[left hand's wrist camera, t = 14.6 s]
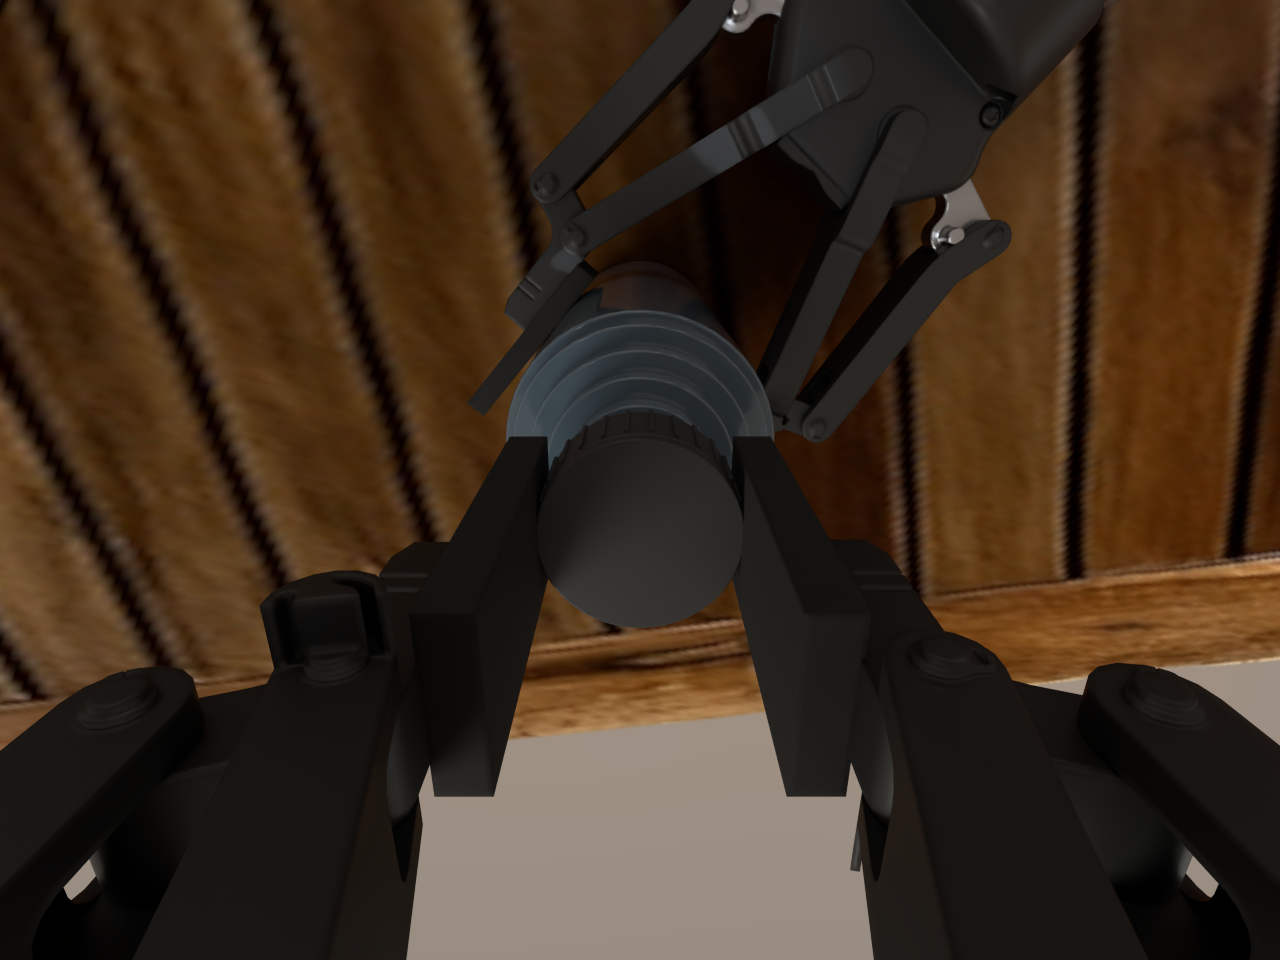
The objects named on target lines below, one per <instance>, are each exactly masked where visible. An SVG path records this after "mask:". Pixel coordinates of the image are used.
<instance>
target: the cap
mask: <svg viewBox="0 0 1280 960" xmlns="http://www.w3.org/2000/svg"><path fill="white" fill-rule="evenodd" d="M740 503H741V497H740V494H739V491H738V488H737V485H736V482H735V479H734V476H733V475H732V473H731V470H730V467H729V464H728V461H727V459H726V457H725V455H723V456H721V454H720V453H719V451H718V450H717V448H716V447H715V443H714V440H713V439H712V438H710V439H708V438H707V437H706V436H704V435H703V434H702V433H701V432H700V431H699V430H697V426H696V425H694V424H693V425H692V426H691V425H689V424H687V423H685V422H683V421H681V420H679V419H677V418H676V415H673V414H672V416H668V415H664V414H659V413H654V410H649V412H630V410H626V413H622V414H617V415H613V416H610V417H608V416H607V415H605V416H603V419H601V420H599V421H597V422H595V423H593V424H591V425H590V426H587V425H585V426H583V428H582V431H581V432H579V433H578V434H577V435H576V436H575V437H574V438H573V439H571V440H570V439H568V440H567V441H566V443H565V446H564V449H563V450H562V452H561V453H560V455H559V456H558V457H557V456H555V457H554V459H553V462H552V465H551V468H550V471H549V474H548V476H547V479H546V482H545V485H544V488H543V491H542V494H541V496H540V499H539V505H540V507H539V511H538V514H537V535H538V551H539V559H540V562H541V565H542V567H543V569H544V571H545V573H546V575H547V577H548V578H549V580H550V582H551V583H552V585H553V586H554V587H555V588H556V590H557V591H558V592H559V593H560V594H561V595H562V596H563V597H564V598H565V599H566V600H567V601H568V602H569V603H570V604H572V605H573V606H574V607H576V608H577V609H579V610H580V611H582V612H584V613H585V614H587V615H589V616H591V617H593V618H596V619H598V620H600V621H603V622H606V623H610V624H613V625H618V626H624V627H636V628H645V627H656V626H662V625H667V624H671V623H674V622H677V621H680V620H683V619H685V618H687V617H690V616H692V615H693V614H695V613H697V612H699V611H700V610H702V609H703V608H705V607H706V606H707V605H709V604H710V603H711V602H713V601H714V600H715V599H716V598H717V597H718V596H719V595H720V594H721V593H722V591H723V590H724V589H725V588H726V587H727V585H728V584H729V582H730V581H731V579H732V578H733V576H734V574H735V572H736V570H737V568H738V566H739V563H740V561H741V556H742V542H743V525H744V517H743V512H742V509H741V506H740Z"/></svg>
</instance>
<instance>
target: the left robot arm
mask: <svg viewBox="0 0 1280 960" xmlns="http://www.w3.org/2000/svg"><path fill="white" fill-rule="evenodd" d="M1 2H2V0H0V4H1ZM731 473H732V475H733V476H734V479H735V482H736V485H737V488H738V491H739V494H740V497H741V503H740V506H741V509H742V512H743V517H744V525H743V542H742V556H741V561H740V563H739V566H738V568H737V570H736V572H735V574H734V576H733V578H732V579H733V583H734V587H735V591H736V595H737V599H738V603H739V607H740V611H741V615H742V619H743V623H744V627H745V631H746V635H747V639H748V643H749V647H750V651H751V655H752V659H753V663H754V667H755V671H756V675H757V679H758V683H759V687H760V691H761V695H762V699H763V703H764V707H765V711H766V715H767V719H768V723H769V727H770V731H771V735H772V739H773V743H774V747H775V751H776V755H777V759H778V763H779V767H780V771H781V775H782V779H783V783H784V787H785V791H786V795H787V797H845V796H846V792H847V786H848V779H849V771H850V765H851V763H852V766H853V769H854V771H855V774H856V776H857V779H858V782H859V784H860V787H861V790H862V795H861V802H860V809H859V815H858V821H857V828H856V834H855V841H854V847H853V854H852V861H851V868H850V870H853V871H860V866H861V861H862V866H863V875H864V883H865V891H866V899H867V907H868V915H869V924H870V932H871V940H872V948H873V956H874V960H1280V745H1278V744H1277V743H1276V742H1275V741H1273V740H1272V739H1271V738H1270V737H1268V736H1267V735H1266V734H1265V733H1263V732H1262V731H1261V730H1259V729H1258V728H1257V727H1256V726H1254V725H1253V724H1252V723H1251V722H1249V721H1248V720H1247V719H1246V718H1244V717H1243V716H1242V715H1241V714H1239V713H1238V712H1237V711H1235V710H1234V709H1233V708H1232V707H1230V706H1229V705H1228V704H1227V703H1225V702H1224V701H1223V700H1222V699H1220V698H1218V697H1217V696H1215V695H1214V694H1212V693H1211V692H1209V691H1208V690H1206V689H1204V688H1203V687H1201V686H1200V685H1198V684H1196V683H1194V682H1191V681H1189V680H1187V679H1184V678H1182V677H1180V676H1178V675H1176V674H1175V673H1173V672H1170V671H1167V670H1163V669H1160V668H1158V669H1155V667H1152V666H1146V665H1136V664H1124V663H1114V664H1109V665H1103V666H1098V667H1097V668H1096V669H1095V670H1094V671H1093V672H1091V673H1090V674H1089V675H1088V679H1087V682H1086V686H1085V689H1084V693H1083V695H1079V694H1074V693H1069V692H1064V691H1059V690H1053V689H1048V688H1043V687H1038V686H1033V685H1029V684H1025V683H1021V682H1017V681H1013V680H1012V679H1011V677H1010V675H1009V673H1008V671H1007V669H1006V667H1005V666H1004V665H1003V664H1002V662H1001V661H1000V660H999V659H998V657H997V656H996V655H995V654H994V653H993V652H991V651H990V650H988V649H987V648H985V647H984V646H982V645H981V644H979V643H978V642H975V641H973V640H970V639H968V638H965V637H963V636H960V635H958V634H955V633H951V632H946V631H944V630H943V629H942V627H941V626H940V624H939V623H938V622H937V620H936V619H935V617H934V616H933V615H932V613H931V612H930V611H929V609H928V608H927V606H926V605H925V604H924V602H923V601H922V599H921V598H920V597H919V595H918V594H917V593H916V591H915V590H912V586H911V584H910V583H909V581H908V580H907V579H906V577H905V576H904V575H902V574H901V570H900V569H899V568H898V566H897V565H896V563H895V562H894V561H893V559H892V558H891V557H890V555H889V554H887V553H886V552H884V551H883V550H881V549H880V548H878V547H876V546H875V545H873V544H872V543H870V542H868V541H867V540H830V539H829V537H828V536H827V534H826V532H825V530H824V529H823V527H822V525H821V523H820V522H819V520H818V518H817V517H816V515H815V513H814V511H813V510H812V508H811V506H810V504H809V503H808V501H807V499H806V497H805V496H804V494H803V492H802V490H801V489H800V487H799V485H798V483H797V482H796V480H795V478H794V476H793V475H792V473H791V471H790V470H789V468H788V466H787V464H786V463H785V461H784V459H783V457H782V456H781V454H780V452H779V450H778V449H777V447H776V445H775V443H774V442H773V440H772V438H771V436H733V447H732V466H731ZM548 474H549V458H548V439H547V436H510V437H509V439H508V441H507V442H506V444H505V446H504V448H503V449H502V451H501V453H500V455H499V456H498V458H497V460H496V462H495V463H494V465H493V467H492V469H491V470H490V472H489V474H488V476H487V477H486V479H485V481H484V483H483V484H482V486H481V488H480V489H479V491H478V493H477V495H476V496H475V498H474V500H473V502H472V503H471V505H470V507H469V509H468V510H467V512H466V514H465V516H464V517H463V519H462V521H461V523H460V524H459V526H458V528H457V530H456V531H455V533H454V535H453V537H452V538H451V540H450V542H414V543H413V544H411V545H410V546H408V547H406V548H405V549H403V550H402V551H400V552H399V553H397V554H395V555H394V556H392V557H391V559H390V560H389V561H388V563H387V564H386V566H385V567H384V568H383V570H382V571H381V573H380V574H379V577H378V576H376V575H374V574H370V573H366V572H362V571H332V572H326V573H320V574H314V575H311V576H308V577H305V578H302V579H299V580H296V581H293V582H290V583H288V584H287V585H285V586H283V587H281V588H280V589H278V590H276V591H274V592H272V593H271V594H270V595H269V596H268V597H267V598H266V599H265V600H264V601H263V602H262V603H261V604H260V610H261V614H262V618H263V622H264V627H265V631H266V635H267V640H268V644H269V648H270V652H271V657H272V661H273V665H274V670H273V672H272V674H271V676H270V678H269V680H268V682H267V684H264V685H260V686H256V687H252V688H248V689H243V690H238V691H233V692H228V693H223V694H218V695H213V696H208V697H202V698H199V697H198V694H197V690H196V687H195V684H194V680H193V678H192V677H191V676H190V675H189V674H188V673H186V672H185V671H184V670H183V669H177V668H172V667H167V666H159V667H147V668H137V669H131V670H127V672H123V671H122V672H119V673H116V674H113V675H110V676H107V677H106V678H104V679H103V680H100V681H98V682H96V683H93V684H91V685H89V686H86V687H84V688H83V689H81V690H79V691H78V692H76V693H75V694H73V695H72V696H70V697H69V698H67V699H65V700H64V701H62V702H61V703H59V704H58V705H57V706H56V707H54V708H53V709H52V710H51V711H49V712H48V713H47V714H46V715H44V716H43V717H42V718H41V719H39V720H38V721H37V722H36V723H34V724H33V725H32V726H31V727H29V728H28V729H27V730H26V731H24V732H23V733H22V734H21V735H19V736H18V737H17V738H16V739H14V740H13V741H12V742H11V743H9V744H8V745H7V746H6V747H4V748H3V749H2V750H1V751H0V960H406V958H407V950H408V942H409V933H410V925H411V917H412V909H413V901H414V892H415V884H416V876H417V868H418V860H419V852H420V843H421V835H422V827H423V823H422V816H421V808H420V802H419V792H420V789H421V787H422V784H423V781H424V779H425V776H426V773H427V771H428V768H429V765H430V768H431V775H432V782H433V789H434V796H435V797H493V796H494V793H495V789H496V785H497V781H498V777H499V773H500V769H501V765H502V761H503V757H504V753H505V749H506V745H507V741H508V737H509V733H510V729H511V725H512V721H513V717H514V713H515V709H516V705H517V701H518V697H519V693H520V689H521V685H522V681H523V677H524V673H525V669H526V665H527V661H528V657H529V653H530V649H531V645H532V641H533V637H534V633H535V629H536V625H537V621H538V617H539V613H540V609H541V605H542V601H543V597H544V593H545V589H546V585H547V581H548V577H547V575H546V573H545V571H544V569H543V567H542V565H541V562H540V559H539V551H538V535H537V514H538V511H539V507H540V505H539V499H540V496H541V494H542V491H543V488H544V485H545V482H546V479H547V476H548ZM1192 856H1194V857H1195V858H1196V859H1197V860H1198V861H1199V863H1200V864H1201V865H1202V866H1203V867H1204V868H1205V869H1206V870H1207V871H1208V872H1209V874H1210V875H1211V876H1212V877H1213V878H1214V879H1215V880H1216V881H1217V882H1218V883H1219V885H1218V887H1217V889H1216V891H1215V894H1214V895H1213V896H1212V897H1209V896H1207V895H1206V894H1205V893H1204V892H1203V891H1202V890H1201V889H1199V888H1198V887H1197V886H1196V885H1195V883H1194V882H1193V881H1192V880H1191V879H1190V878H1189V877H1188V875H1187V874H1186V871H1187V868H1188V866H1189V864H1190V861H1191V859H1192ZM89 859H90V862H91V864H92V867H93V869H94V872H95V874H96V877H95V878H94V879H93V880H92V881H91V883H90V884H89V885H88V886H87V887H86V888H85V889H84V890H83V891H82V892H81V893H79V894H78V895H77V896H76V897H75V898H73V899H72V900H70V899H69V898H68V897H67V894H66V892H65V890H64V888H63V887H64V886H65V885H66V884H67V883H68V882H69V881H70V880H71V878H72V877H73V876H74V875H75V874H76V873H77V872H78V871H79V870H80V869H81V867H82V866H83V865H84V864H85V863H86V862H87V861H88V860H89Z"/></svg>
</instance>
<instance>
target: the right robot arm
mask: <svg viewBox="0 0 1280 960" xmlns="http://www.w3.org/2000/svg"><path fill="white" fill-rule="evenodd" d="M1116 1H1117V0H691V2H690V3H689V4H688V5H687V6H686V8H685V9H684V10H683V11H682V12H681V13H680V14H679V15H678V16H677V17H676V18H675V19H674V20H673V22H672V23H671V24H670V25H669V26H668V27H667V28H666V29H665V30H664V31H663V32H662V33H661V35H660V36H659V37H658V38H657V39H656V40H655V41H654V42H653V43H652V44H651V45H650V46H649V47H648V49H647V50H646V51H645V52H644V53H643V54H642V55H641V56H640V57H639V58H638V59H637V60H636V61H635V63H634V64H633V65H632V66H631V67H630V68H629V69H628V70H627V71H626V72H625V73H624V74H623V75H622V77H621V78H620V79H619V80H618V81H617V82H616V83H615V84H614V85H613V86H612V87H611V88H610V89H609V91H608V92H607V93H606V94H605V95H604V96H603V97H602V98H601V99H600V100H599V101H598V102H597V103H596V105H595V106H594V107H593V108H592V109H591V110H590V111H589V112H588V113H587V114H586V115H585V116H584V118H583V119H582V120H581V121H580V122H579V123H578V124H577V125H576V126H575V127H574V128H573V129H572V130H571V132H570V133H569V134H568V135H567V136H566V137H565V138H564V139H563V140H562V141H561V142H560V143H559V144H558V146H557V147H556V148H555V149H554V150H553V151H552V152H551V153H550V154H549V155H548V156H547V157H546V158H545V160H544V161H543V162H542V163H541V164H540V165H539V166H538V167H537V168H536V169H535V170H534V172H533V174H532V175H531V179H530V188H531V192H532V193H533V195H534V197H535V198H536V199H537V200H538V201H539V203H540V205H541V206H542V208H543V210H544V212H545V214H546V215H547V217H548V219H549V221H550V223H551V226H552V239H551V243H550V244H549V246H548V248H547V249H546V250H545V252H544V253H543V254H542V255H541V257H540V258H539V259H538V261H537V262H536V263H535V265H534V266H533V267H532V268H531V270H530V271H529V272H528V274H527V275H526V276H525V278H524V279H523V280H522V281H521V283H520V284H519V285H518V287H517V288H516V289H515V290H514V292H513V293H512V294H511V296H510V297H509V298H508V301H507V304H506V308H505V312H504V314H505V315H507V316H508V317H509V318H510V319H511V320H513V321H514V322H515V323H516V324H518V325H519V326H520V327H521V328H522V329H524V330H525V331H524V332H523V334H522V335H521V336H520V337H519V339H518V340H517V341H516V342H515V344H514V345H513V346H512V347H511V349H510V350H509V351H508V352H507V354H506V355H505V356H504V357H503V359H502V360H501V361H500V363H499V364H498V365H497V366H496V368H495V369H494V370H493V371H492V373H491V374H490V375H489V376H488V378H487V379H486V380H485V381H484V383H483V384H482V385H481V386H480V388H479V389H478V390H477V392H476V393H475V394H474V395H473V397H472V398H471V399H470V400H469V402H468V404H469V405H470V406H472V407H473V408H474V409H476V410H477V411H478V412H479V413H481V414H482V415H483V416H484V415H485V414H486V412H487V411H488V410H489V409H490V407H491V406H492V405H493V404H494V402H495V401H496V400H497V399H498V398H499V396H500V395H501V394H502V393H503V391H504V390H505V389H506V388H507V386H508V385H509V384H510V383H511V381H512V380H513V379H514V378H515V376H516V375H517V374H518V373H519V372H520V370H521V369H522V368H523V367H524V365H525V364H526V363H527V362H528V360H529V359H530V358H531V357H532V355H533V354H534V353H535V352H536V350H537V349H538V348H539V347H540V346H541V344H542V343H543V342H544V341H545V339H546V338H547V337H548V336H549V334H550V333H551V332H552V331H553V329H554V328H555V327H556V326H557V324H558V323H559V322H560V321H561V320H562V318H563V317H564V316H565V314H566V313H567V312H568V311H569V310H570V308H571V307H572V306H573V305H574V303H575V302H576V301H577V300H578V298H579V297H580V296H581V295H582V294H583V292H584V291H585V290H586V289H587V287H588V286H589V285H590V284H591V282H592V281H593V280H594V279H595V277H596V276H597V274H598V272H597V271H596V270H595V269H594V268H593V267H592V266H590V265H589V264H588V263H587V262H586V261H585V260H584V259H585V258H586V257H587V255H588V254H589V253H590V252H591V251H592V250H593V249H595V248H597V247H598V246H600V245H602V244H603V243H605V242H607V241H608V240H610V239H612V238H613V237H615V236H617V235H618V234H620V233H622V232H623V231H625V230H627V229H628V228H630V227H632V226H633V225H635V224H637V223H638V222H640V221H642V220H643V219H645V218H647V217H648V216H650V215H652V214H653V213H655V212H657V211H658V210H660V209H662V208H663V207H665V206H667V205H668V204H670V203H672V202H673V201H675V200H677V199H678V198H680V197H682V196H684V195H685V194H687V193H689V192H690V191H692V190H694V189H695V188H697V187H699V186H700V185H702V184H704V183H705V182H707V181H709V180H710V179H712V178H714V177H715V176H717V175H719V174H720V173H722V172H724V171H725V170H727V169H729V168H730V167H732V166H734V165H735V164H737V163H739V162H740V161H742V160H744V159H745V158H747V157H749V156H750V155H752V154H754V153H756V152H757V151H759V150H761V149H762V148H764V147H766V146H767V145H769V146H768V148H767V150H768V151H769V152H770V153H771V154H772V155H773V156H774V157H775V158H776V159H777V160H778V161H779V162H780V163H781V164H782V165H784V166H786V167H787V168H789V169H791V170H793V171H795V172H797V173H798V174H800V175H801V176H802V178H803V180H804V181H805V183H806V185H807V187H808V189H809V191H810V192H811V194H812V196H813V197H814V198H815V199H816V200H817V201H818V202H819V203H820V204H821V205H822V206H823V207H824V208H825V211H824V213H823V215H822V218H821V220H820V222H819V224H818V227H817V230H816V234H815V240H814V243H813V245H812V248H811V250H810V252H809V254H808V257H807V259H806V261H805V263H804V266H803V268H802V270H801V272H800V275H799V277H798V279H797V281H796V283H795V286H794V288H793V290H792V292H791V295H790V297H789V299H788V301H787V304H786V306H785V308H784V310H783V313H782V315H781V317H780V319H779V322H778V324H777V326H776V328H775V331H774V333H773V335H772V337H771V340H770V342H769V344H768V346H767V348H766V351H765V353H764V355H763V357H762V360H761V362H760V364H759V366H758V369H757V371H756V374H757V376H758V377H759V379H760V381H761V383H762V385H763V387H764V390H765V392H766V395H767V397H768V400H769V404H770V408H771V412H772V416H773V425H774V432H777V431H781V430H783V429H786V430H789V431H792V432H794V433H797V434H800V435H802V436H805V437H806V439H807V440H809V441H811V442H822V441H825V440H826V439H827V438H829V437H830V436H831V435H832V433H833V432H834V431H835V430H836V428H837V427H838V426H839V425H840V424H841V422H842V421H843V420H844V419H845V418H846V416H847V415H848V414H849V413H850V412H851V410H852V409H853V408H854V407H855V405H856V404H857V403H858V402H859V401H860V399H861V398H862V397H863V396H864V395H865V393H866V392H867V391H868V390H869V389H870V387H871V386H872V385H873V384H874V383H875V381H876V380H877V379H878V378H879V376H880V375H881V374H882V373H883V372H884V370H885V369H886V368H887V367H888V366H889V364H890V363H891V362H892V361H893V360H894V358H895V357H896V356H897V355H898V353H899V352H900V351H901V350H902V349H903V347H904V346H905V345H906V344H907V343H908V341H909V340H910V339H911V338H912V337H913V335H914V334H915V333H916V332H917V331H918V329H919V328H920V327H921V326H922V324H923V323H924V322H925V321H926V320H927V318H928V317H929V316H930V315H931V314H932V312H933V311H934V310H935V309H936V308H937V306H938V305H939V304H940V303H941V301H942V300H943V299H944V298H945V297H946V295H947V294H948V293H949V292H950V291H951V289H952V288H953V287H954V286H955V285H956V283H957V282H959V281H960V280H962V279H963V278H965V277H966V276H968V275H969V274H971V273H972V272H974V271H975V270H977V269H978V268H980V267H981V266H983V265H984V264H986V263H987V262H989V261H991V260H992V259H994V258H995V257H997V256H998V255H1000V254H1001V253H1002V252H1003V251H1004V250H1006V249H1007V247H1008V245H1009V243H1010V242H1011V236H1012V233H1011V229H1010V227H1009V226H1008V224H1007V223H1006V222H1004V221H1001V220H991V219H990V217H989V215H988V213H987V211H986V209H985V207H984V205H983V203H982V201H981V199H980V197H979V195H978V193H977V191H976V189H975V187H974V185H973V183H972V181H971V179H970V178H971V177H972V175H973V174H974V172H975V170H976V168H977V166H978V163H979V160H980V157H981V154H982V152H983V149H984V147H985V145H986V143H987V142H988V140H989V138H990V137H991V135H992V134H993V133H994V132H995V130H996V129H997V128H998V127H999V126H1000V125H1001V124H1002V123H1003V122H1004V121H1005V120H1006V119H1007V118H1008V117H1009V116H1010V115H1011V114H1012V113H1013V112H1014V111H1015V110H1016V109H1017V108H1018V107H1019V106H1020V104H1021V103H1022V102H1023V101H1024V100H1025V99H1026V98H1027V97H1028V96H1029V95H1030V94H1031V93H1032V92H1033V91H1034V90H1035V89H1036V87H1037V86H1038V85H1039V84H1040V83H1041V82H1042V81H1043V80H1044V79H1045V78H1046V77H1047V76H1048V75H1049V74H1050V73H1051V72H1052V70H1053V69H1054V68H1055V67H1056V66H1057V65H1058V64H1059V63H1060V62H1061V61H1062V60H1063V59H1064V58H1065V57H1066V56H1067V54H1068V53H1069V52H1070V51H1071V50H1072V49H1073V48H1074V47H1075V46H1076V45H1077V44H1078V43H1079V42H1080V41H1081V40H1082V39H1083V37H1084V36H1085V35H1086V34H1087V33H1088V32H1089V31H1090V30H1091V29H1092V28H1093V27H1094V25H1095V24H1096V22H1097V21H1098V19H1099V17H1100V15H1101V12H1102V10H1103V7H1106V6H1108V5H1110V4H1113V3H1115V2H1116ZM760 21H770V22H772V23H774V24H775V26H774V33H773V41H772V48H771V56H770V63H769V71H768V78H767V86H766V94H765V100H764V101H763V102H761V103H759V104H758V105H756V106H755V107H753V108H751V109H750V110H748V111H746V112H745V113H743V114H742V115H740V116H739V117H737V118H736V119H734V120H733V121H731V122H729V123H728V124H726V125H725V126H723V127H721V128H720V129H718V130H716V131H715V132H713V133H712V134H710V135H708V136H707V137H705V138H703V139H702V140H700V141H699V142H697V143H695V144H694V145H692V146H690V147H689V148H687V149H685V150H684V151H682V152H681V153H679V154H677V155H676V156H674V157H672V158H671V159H669V160H667V161H666V162H664V163H663V164H661V165H659V166H658V167H656V168H654V169H653V170H651V171H649V172H648V173H646V174H645V175H643V176H641V177H640V178H638V179H636V180H635V181H633V182H632V183H630V184H628V185H627V186H625V187H623V188H622V189H620V190H618V191H617V192H615V193H614V194H612V195H610V196H609V197H607V198H605V199H604V200H602V201H600V202H599V203H597V204H596V205H594V206H592V207H591V208H589V209H587V210H586V208H585V207H584V205H583V203H582V201H581V199H580V197H579V196H578V194H577V192H576V190H577V189H578V188H579V187H580V186H581V185H582V184H583V183H584V182H585V181H586V180H587V179H588V178H589V177H590V176H591V175H592V174H593V173H594V172H595V171H596V170H597V169H598V167H599V166H600V165H601V164H602V163H603V162H604V161H605V160H606V159H607V158H608V157H609V156H610V155H611V154H612V153H613V152H614V151H615V150H616V149H617V148H618V147H619V146H620V145H621V143H622V142H623V141H624V140H625V139H626V138H627V137H628V136H629V135H630V134H631V133H632V132H633V131H634V130H635V129H636V128H637V127H638V126H639V125H640V124H641V123H642V122H643V120H644V119H645V118H646V117H647V116H648V115H649V114H650V113H651V112H652V111H653V110H654V109H655V108H656V107H657V106H658V105H659V104H660V103H661V102H662V101H663V100H664V99H665V98H666V96H667V95H668V94H669V93H670V92H671V91H672V90H673V89H674V88H675V87H676V86H677V85H678V84H679V83H680V82H681V81H682V80H683V79H684V78H685V77H686V76H687V75H688V73H689V72H690V71H691V70H692V69H693V68H694V67H695V66H696V65H697V64H698V63H699V62H700V61H701V59H702V58H703V57H704V56H705V55H706V54H707V52H708V51H709V49H710V48H711V46H712V45H713V44H714V42H715V41H716V39H717V37H718V35H719V34H720V35H722V36H724V37H725V38H728V39H738V38H741V37H742V36H743V35H745V34H746V32H747V31H748V30H749V29H750V28H751V26H752V25H754V24H755V23H757V22H760ZM932 197H934V198H935V201H936V209H935V213H934V215H933V216H932V218H931V219H930V220H929V221H928V222H927V224H926V225H925V226H924V228H923V230H922V233H921V241H922V244H923V245H922V246H921V247H920V248H918V249H917V250H916V251H915V252H914V253H913V254H912V255H911V256H909V257H908V258H907V259H906V260H905V262H904V263H903V264H902V265H901V266H900V267H899V268H898V270H897V271H896V272H895V273H894V275H893V276H892V277H891V279H890V280H889V281H888V282H887V284H886V285H885V286H884V287H883V289H882V290H881V291H880V292H879V294H878V295H877V296H876V298H875V299H874V300H873V301H872V303H871V304H870V305H869V306H868V308H867V309H866V310H865V311H864V313H863V314H862V315H861V316H860V318H859V319H858V320H857V322H856V323H855V324H854V325H853V327H852V328H851V329H850V330H849V332H848V333H847V334H846V335H845V337H844V338H843V339H842V340H841V342H840V343H839V344H838V346H837V347H836V348H835V349H834V351H833V352H832V353H831V354H830V356H829V357H828V358H827V359H826V361H825V362H824V363H823V365H822V366H821V367H820V368H819V370H818V371H817V372H816V373H815V375H814V376H813V377H812V378H811V380H810V381H809V382H808V383H807V385H806V386H805V387H804V389H803V390H802V391H801V392H800V394H799V395H798V394H797V393H798V391H799V389H800V387H801V385H802V383H803V381H804V379H805V377H806V374H807V372H808V370H809V368H810V366H811V364H812V362H813V360H814V358H815V355H816V353H817V351H818V349H819V347H820V345H821V343H822V341H823V339H824V336H825V334H826V332H827V330H828V328H829V326H830V324H831V322H832V320H833V317H834V315H835V313H836V311H837V309H838V307H839V305H840V303H841V301H842V298H843V296H844V294H845V292H846V290H847V288H848V286H849V284H850V282H851V279H852V277H853V275H854V273H855V271H856V269H857V267H858V265H859V263H860V260H861V259H862V257H863V255H864V254H865V253H866V252H867V251H868V250H869V249H870V248H871V246H872V245H873V243H874V241H875V239H876V237H877V235H878V233H879V231H880V229H881V227H882V225H883V222H884V220H885V218H886V216H887V214H888V212H889V210H890V208H892V207H896V206H900V205H904V204H908V203H912V202H916V201H920V200H924V199H928V198H932Z"/></svg>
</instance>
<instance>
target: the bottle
mask: <svg viewBox="0 0 1280 960" xmlns="http://www.w3.org/2000/svg"><path fill="white" fill-rule="evenodd" d="M626 410H630V412H649V410H654V413H659V414H664V415H668V416H672V414H673V415H676V418H677V419H679V420H681V421H683V422H685V423H687V424H689V425H691V426H692V425H693V424H694V425H696V426H697V430H699V431H700V432H701V433H702V434H703V435H704V436H706V437H707V438H708V439H710V438H712V439H713V440H714V443H715V447H716V448H717V450H718V451H719V453H720V454H721V456H723V455H725V457H726V459H727V461H728V464H729V467H730V470H731V466H732V447H733V436H771V438H772V440H773V442H774V425H773V416H772V412H771V408H770V404H769V400H768V397H767V395H766V392H765V390H764V387H763V385H762V383H761V381H760V379H759V377H758V376H757V374H756V372H755V370H754V369H753V367H752V366H751V364H750V363H749V362H748V360H747V359H746V357H745V356H744V355H743V353H742V352H741V350H740V349H739V348H738V346H737V345H736V343H735V342H734V341H733V339H732V338H731V336H730V335H729V334H728V332H727V331H726V329H725V328H724V327H723V325H722V324H721V322H720V321H719V320H718V318H717V317H716V315H715V314H714V313H713V311H712V310H711V309H710V307H709V306H708V304H707V303H706V302H705V300H704V299H703V297H702V296H701V295H700V293H699V292H698V291H697V289H696V288H695V287H694V285H693V284H692V283H691V282H690V281H689V280H688V279H687V278H685V277H684V276H683V275H681V274H680V273H679V272H677V271H675V270H673V269H671V268H669V267H667V266H664V265H662V264H657V263H653V262H645V261H634V262H627V263H622V264H619V265H616V266H613V267H611V268H609V269H607V270H605V271H603V272H602V273H600V274H599V275H597V276H596V277H595V279H594V280H593V281H592V282H591V284H590V285H589V286H588V287H587V289H586V290H585V291H584V292H583V294H582V295H581V296H580V297H579V298H578V300H577V301H576V302H575V303H574V305H573V306H572V307H571V308H570V310H569V311H568V312H567V313H566V314H565V316H564V317H563V319H562V320H561V321H560V323H559V324H558V326H557V327H556V328H555V330H554V331H553V333H552V334H551V335H550V337H549V338H548V340H547V341H546V342H545V344H544V345H543V347H542V348H541V349H540V351H539V352H538V354H537V355H536V356H535V358H534V359H533V361H532V362H531V364H530V365H529V367H528V368H527V370H526V371H525V373H524V374H523V376H522V378H521V380H520V382H519V384H518V386H517V388H516V390H515V392H514V395H513V399H512V402H511V405H510V408H509V414H508V420H507V427H506V442H507V441H508V439H509V437H510V436H547V439H548V458H549V471H550V468H551V465H552V462H553V459H554V457H555V456H557V457H558V456H559V455H560V453H561V452H562V450H563V449H564V446H565V443H566V441H567V440H568V439H570V440H571V439H573V438H574V437H575V436H576V435H577V434H578V433H579V432H581V431H582V428H583V426H585V425H587V426H590V425H591V424H593V423H595V422H597V421H599V420H601V419H603V416H605V415H607V416H608V417H610V416H613V415H617V414H622V413H626Z"/></svg>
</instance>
